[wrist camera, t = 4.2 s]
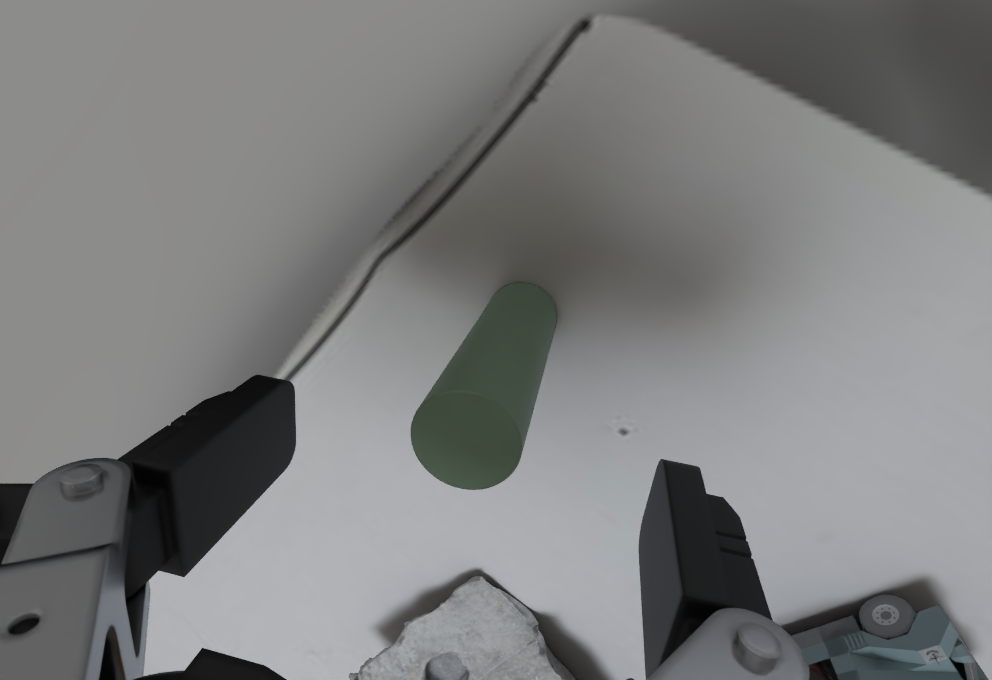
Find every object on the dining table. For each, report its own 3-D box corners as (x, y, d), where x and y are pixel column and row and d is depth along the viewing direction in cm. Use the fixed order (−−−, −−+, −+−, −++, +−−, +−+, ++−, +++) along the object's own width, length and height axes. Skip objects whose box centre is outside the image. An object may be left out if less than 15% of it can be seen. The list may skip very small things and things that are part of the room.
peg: (484, 341, 22) (406, 477, 13) (492, 276, 21) (413, 380, 12) (551, 353, 21) (513, 501, 13) (562, 288, 20) (529, 403, 12)
